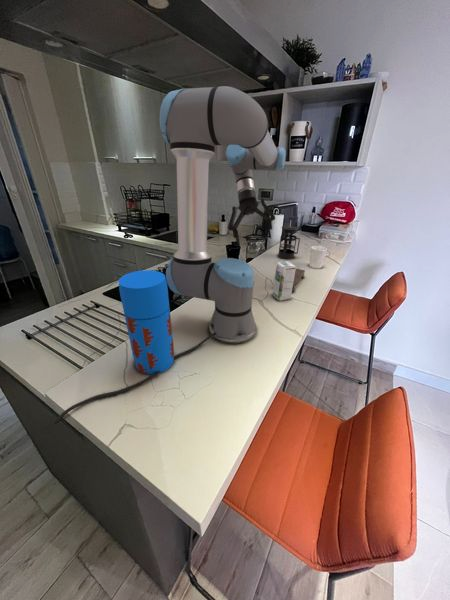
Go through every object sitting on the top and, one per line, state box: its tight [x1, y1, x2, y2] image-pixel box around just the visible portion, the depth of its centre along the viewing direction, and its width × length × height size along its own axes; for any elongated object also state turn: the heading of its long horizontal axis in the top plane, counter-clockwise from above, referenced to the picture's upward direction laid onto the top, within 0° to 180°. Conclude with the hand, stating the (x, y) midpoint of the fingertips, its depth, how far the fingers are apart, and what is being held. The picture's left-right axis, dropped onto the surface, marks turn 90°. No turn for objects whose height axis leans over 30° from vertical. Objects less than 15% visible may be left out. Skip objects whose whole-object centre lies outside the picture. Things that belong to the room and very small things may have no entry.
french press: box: [277, 215, 301, 260], centre depth 146 cm, size 12×9×23 cm
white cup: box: [309, 245, 328, 269], centre depth 136 cm, size 8×8×10 cm
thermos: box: [118, 269, 175, 375], centre depth 66 cm, size 11×11×25 cm
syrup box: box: [272, 261, 297, 302], centre depth 103 cm, size 6×6×14 cm
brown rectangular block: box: [291, 268, 306, 294], centre depth 118 cm, size 20×8×4 cm, turn 151°
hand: (254, 241), depth 108 cm, fingers open, 13 cm apart
